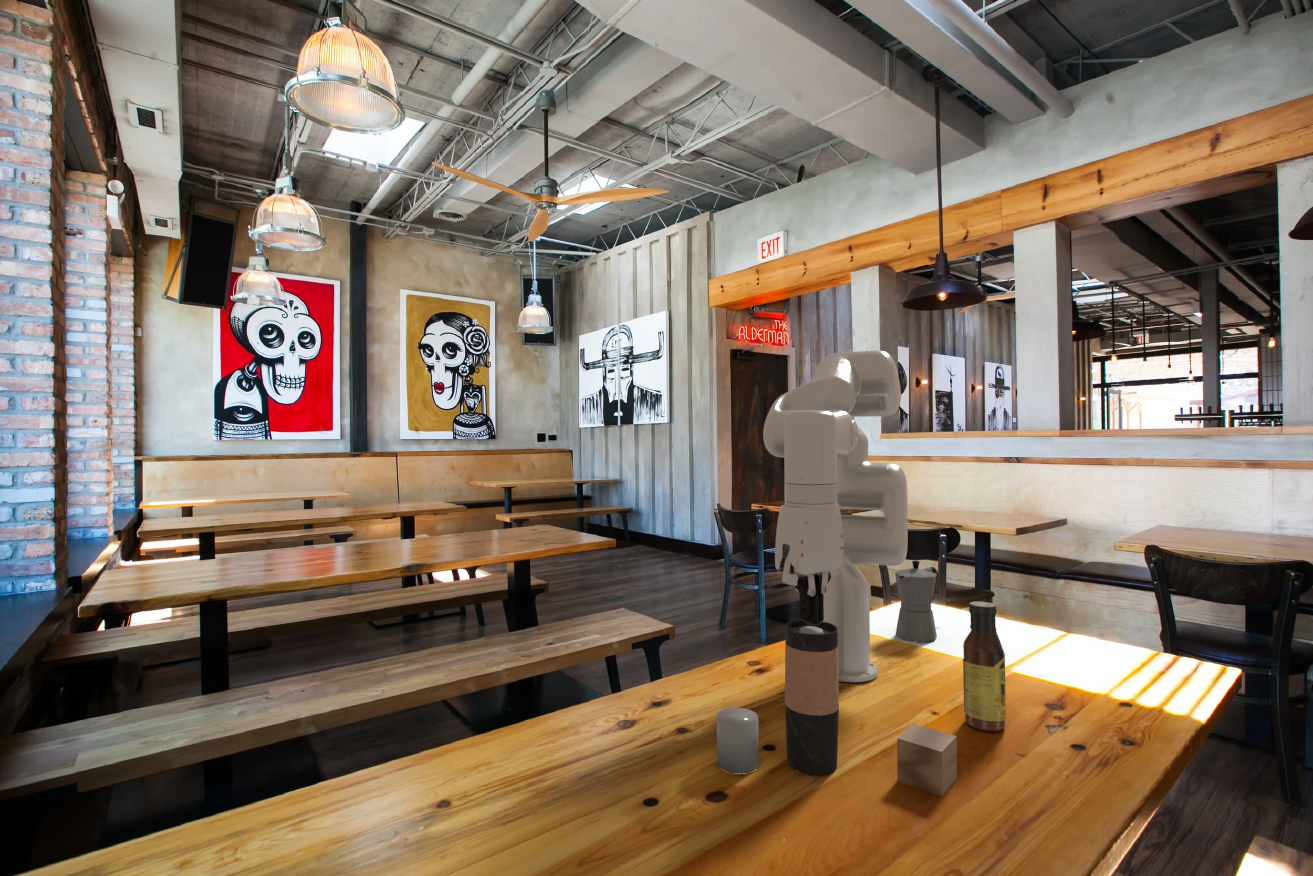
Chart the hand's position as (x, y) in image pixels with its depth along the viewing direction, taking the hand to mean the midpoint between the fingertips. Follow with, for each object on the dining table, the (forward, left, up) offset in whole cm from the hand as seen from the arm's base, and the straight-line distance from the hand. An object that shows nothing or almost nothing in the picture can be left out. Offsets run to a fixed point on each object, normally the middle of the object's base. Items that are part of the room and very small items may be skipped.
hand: (811, 620), depth 95 cm
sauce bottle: (+7, +33, -21) cm, 40 cm away
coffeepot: (-28, +66, -21) cm, 74 cm away
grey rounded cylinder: (-6, -9, -21) cm, 24 cm away
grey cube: (+12, +10, -21) cm, 26 cm away
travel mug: (0, 0, -21) cm, 21 cm away
